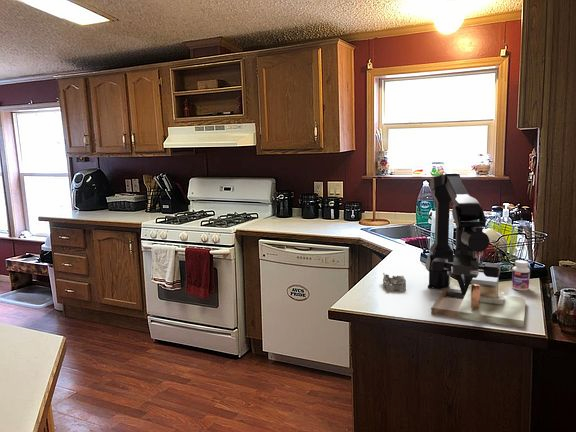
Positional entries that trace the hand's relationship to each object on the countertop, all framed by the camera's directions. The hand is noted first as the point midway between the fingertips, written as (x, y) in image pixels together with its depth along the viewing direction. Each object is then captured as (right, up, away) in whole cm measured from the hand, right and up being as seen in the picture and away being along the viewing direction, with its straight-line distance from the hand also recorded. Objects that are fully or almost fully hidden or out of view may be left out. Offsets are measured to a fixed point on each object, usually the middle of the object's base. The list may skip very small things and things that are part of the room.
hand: (463, 295), depth 138 cm
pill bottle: (+29, -2, +23) cm, 37 cm away
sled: (+9, -3, +3) cm, 10 cm away
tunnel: (+9, -3, +9) cm, 13 cm away
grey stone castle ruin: (-14, -2, +29) cm, 33 cm away
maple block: (+11, -3, +7) cm, 13 cm away
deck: (+7, -5, +5) cm, 10 cm away
